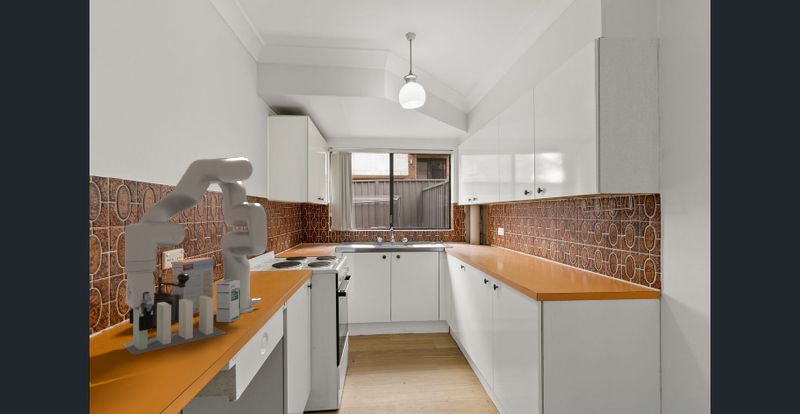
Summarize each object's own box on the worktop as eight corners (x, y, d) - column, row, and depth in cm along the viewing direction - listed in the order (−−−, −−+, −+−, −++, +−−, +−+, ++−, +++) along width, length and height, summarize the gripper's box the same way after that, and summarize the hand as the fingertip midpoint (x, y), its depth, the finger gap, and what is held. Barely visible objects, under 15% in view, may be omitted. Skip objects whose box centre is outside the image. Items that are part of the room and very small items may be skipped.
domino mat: (211, 326, 130) (211, 325, 130) (226, 334, 122) (226, 333, 122) (122, 345, 111) (122, 344, 111) (133, 356, 103) (133, 354, 103)
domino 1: (141, 343, 112) (141, 305, 112) (147, 348, 108) (147, 309, 108) (133, 344, 111) (133, 306, 111) (138, 349, 107) (139, 310, 107)
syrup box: (230, 323, 134) (230, 282, 134) (215, 322, 135) (215, 281, 135) (240, 319, 139) (240, 279, 139) (226, 318, 140) (226, 278, 141)
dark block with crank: (134, 330, 126) (135, 275, 126) (147, 321, 137) (147, 270, 137) (187, 327, 130) (187, 273, 130) (195, 318, 141) (195, 269, 141)
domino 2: (164, 338, 117) (164, 301, 117) (170, 342, 113) (171, 305, 113) (156, 339, 115) (157, 303, 115) (163, 344, 111) (163, 306, 111)
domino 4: (205, 329, 126) (205, 295, 126) (213, 333, 122) (213, 298, 122) (199, 330, 124) (199, 296, 124) (206, 334, 120) (206, 299, 120)
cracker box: (202, 309, 154) (202, 256, 154) (214, 310, 152) (214, 257, 152) (170, 318, 141) (171, 261, 141) (183, 319, 139) (183, 261, 139)
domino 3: (185, 333, 121) (185, 298, 121) (192, 337, 117) (193, 301, 117) (178, 335, 120) (179, 299, 120) (185, 339, 116) (185, 302, 116)
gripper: (117, 264, 113) (117, 323, 113) (133, 271, 101) (133, 336, 101) (147, 262, 118) (147, 317, 118) (165, 268, 107) (165, 329, 107)
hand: (140, 326), depth 110 cm, fingers open, 9 cm apart
